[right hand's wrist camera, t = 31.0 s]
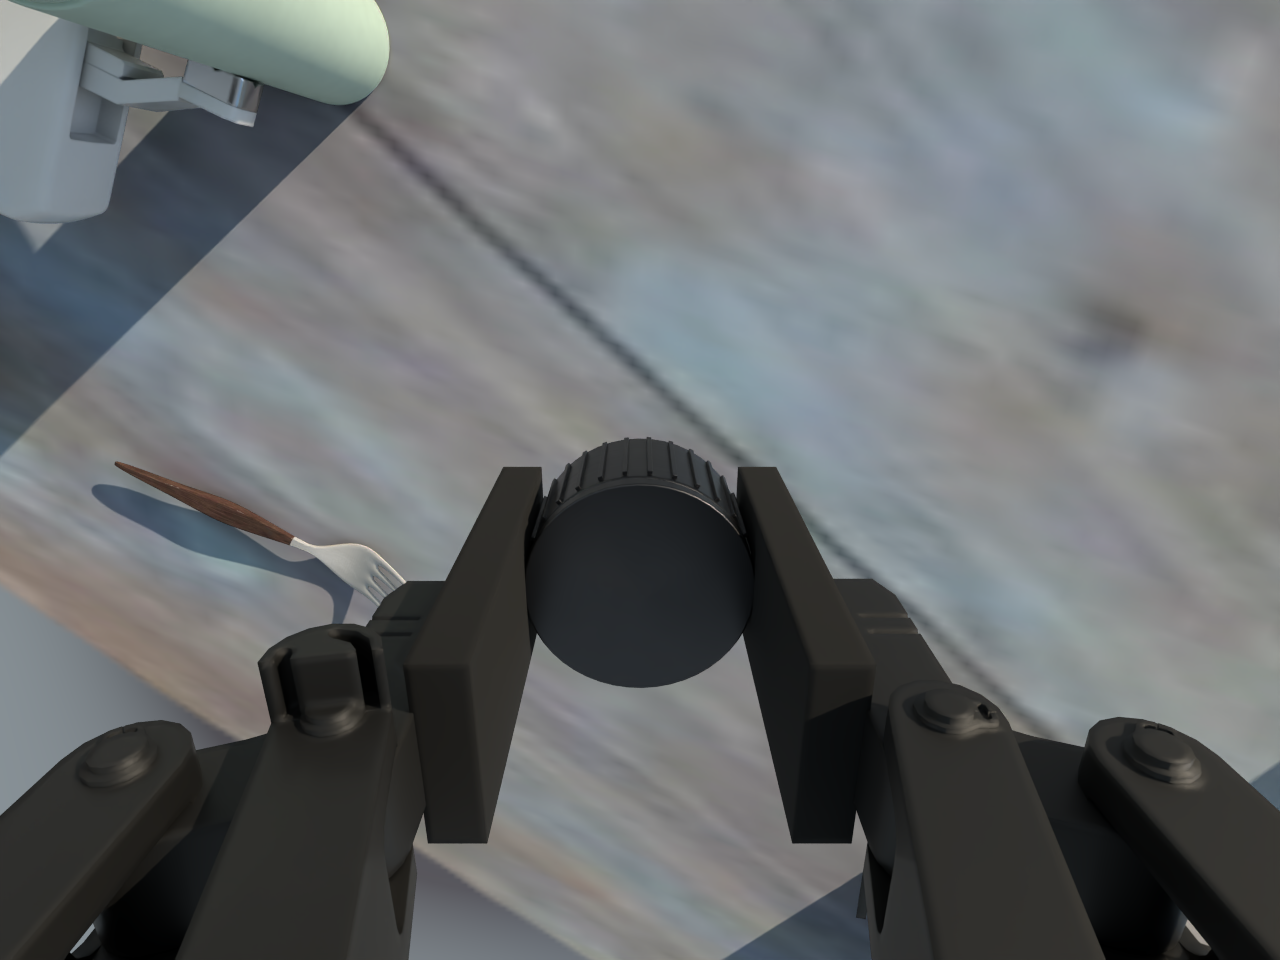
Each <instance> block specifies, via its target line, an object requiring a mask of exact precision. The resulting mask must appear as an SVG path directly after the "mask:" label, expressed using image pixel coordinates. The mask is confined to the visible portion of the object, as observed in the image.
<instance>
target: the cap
mask: <svg viewBox="0 0 1280 960" xmlns="http://www.w3.org/2000/svg"><path fill="white" fill-rule="evenodd" d="M746 537H748V534H747V531H746V528H745V525H744V522H743V519H742V515H741V512H740V509H739V506H738V503H737V500H736V497H735V494H734V493H730V491H729V489H728V486H727V483H726V480H725V477H724V476H723V475H722V476H721V477H720V475H719V474H718V473H717V472H716V471H715V470H714V469H713V468H712V465H711V463H710V462H709V461H707V462H705V461H704V460H703V459H702V458H700V457H699V456H697V455H696V454H694V452H693V450H691V449H689V450H687V449H684V448H682V447H680V446H678V445H674V444H673V442H672V441H669V442H665V441H659V440H653V439H651V437H647V439H629V438H624V440H621V441H616V442H611V443H608V444H607V442H605V443H603V445H602V446H600V447H597V448H595V449H593V450H591V451H589V452H587V451H585V452H583V454H582V456H581V457H580V458H578V459H577V460H575V461H574V462H573V463H572V464H571V465H570V464H569V463H568V464H567V465H566V467H565V470H564V472H563V473H562V474H561V475H560V476H559V477H558V479H557V480H556V479H554V480H553V481H552V484H551V488H550V491H549V494H548V497H546V496H544V498H543V501H542V504H541V507H540V510H539V513H538V517H537V520H536V523H535V526H534V529H533V532H532V535H531V538H530V541H533V543H532V547H531V550H530V553H529V556H528V560H527V563H526V566H525V587H526V602H527V611H528V614H529V617H530V620H531V622H532V624H533V626H534V628H535V630H536V632H537V634H538V635H539V637H540V638H541V640H542V641H543V643H544V644H545V645H546V646H547V647H548V648H549V650H550V651H551V652H552V653H553V654H554V655H555V656H556V657H558V658H559V659H560V660H561V661H562V662H563V663H565V664H566V665H568V666H569V667H571V668H572V669H574V670H575V671H577V672H579V673H581V674H583V675H585V676H587V677H589V678H592V679H594V680H597V681H600V682H603V683H607V684H611V685H616V686H623V687H634V688H646V687H658V686H663V685H669V684H673V683H676V682H680V681H683V680H686V679H688V678H690V677H693V676H695V675H697V674H699V673H701V672H702V671H704V670H706V669H708V668H709V667H711V666H712V665H713V664H715V663H716V662H717V661H719V660H720V659H721V658H722V657H723V656H724V655H725V654H726V653H727V652H728V651H730V649H731V648H732V647H733V646H734V644H735V643H736V642H737V641H738V639H739V638H740V636H741V635H742V633H743V631H744V630H745V628H746V626H747V623H748V621H749V619H750V616H751V613H752V609H753V595H754V579H755V570H754V564H753V560H752V557H751V551H750V548H749V545H748V541H747V538H746Z"/></svg>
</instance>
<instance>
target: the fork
mask: <svg viewBox="0 0 1280 960" xmlns="http://www.w3.org/2000/svg"><path fill="white" fill-rule="evenodd" d="M115 465H116V466H117V467H118V468H120V469H122V470H123V471H125V472H127V473H129V474H130V475H132V476H134V477H136V478H138V479H140V480H141V481H143V482H145V483H147V484H149V485H151V486H153V487H155V488H157V489H159V490H161V491H163V492H165V493H167V494H168V495H170V496H172V497H174V498H176V499H178V500H180V501H182V502H183V503H185V504H187V505H189V506H191V507H193V508H194V509H196V510H198V511H200V512H202V513H204V514H206V515H208V516H210V517H212V518H214V519H216V520H218V521H220V522H223V523H225V524H228V525H230V526H233V527H236V528H239V529H241V530H244V531H247V532H250V533H253V534H257V535H260V536H263V537H266V538H269V539H272V540H275V541H278V542H281V543H284V544H287V545H290V546H293V547H296V548H299V549H302V550H304V551H306V552H308V553H310V554H312V555H314V556H315V557H316V558H318V559H319V560H320V561H321V562H323V563H324V564H325V565H326V566H327V567H328V568H329V569H330V570H331V571H332V572H334V573H335V574H336V575H337V576H338V577H339V578H341V579H342V580H343V581H344V582H346V583H347V584H348V585H350V586H351V587H353V588H354V589H355V590H357V591H358V592H360V593H361V594H363V595H364V596H366V597H367V598H368V599H370V600H371V601H372V602H373V603H374V604H375V605H376V606H378V607H379V605H380V604H381V602H380V601H379V600H378V599H377V598H376V597H375V596H374V595H373V594H372V593H371V592H370V590H369V588H368V587H372V588H373V589H374V590H376V591H377V592H378V593H379V594H381V595H382V596H383V597H386V596H387V595H388V594H387V593H386V592H385V591H384V590H383V589H382V588H381V587H380V586H379V585H378V584H377V583H376V581H375V580H374V579H373V576H375V577H377V578H379V579H380V580H381V581H382V582H384V583H385V584H386V585H387V586H388V587H389V588H390V589H392V590H393V591H394V590H396V589H397V588H396V587H395V586H394V585H393V584H392V583H391V582H390V581H389V580H388V578H387V577H386V576H385V575H384V574H383V573H382V572H381V571H380V570H379V568H378V566H381V567H383V568H384V569H386V570H387V571H388V572H389V573H390V574H392V575H393V576H394V577H395V578H396V579H397V580H398V581H399V582H401V583H402V584H404V583H406V582H405V580H404V579H403V578H402V577H401V576H400V575H399V574H398V573H397V572H396V571H395V570H394V569H393V568H392V567H391V566H390V565H389V564H388V563H387V562H386V561H385V560H384V559H383V558H381V557H380V556H379V555H378V554H377V553H376V552H375V551H373V550H372V549H370V548H369V547H366V546H364V545H360V544H351V543H349V544H338V545H330V546H315V545H311V544H308V543H306V542H304V541H302V540H300V539H298V538H296V537H295V536H293V535H291V534H289V533H288V532H286V531H284V530H282V529H281V528H279V527H277V526H275V525H274V524H272V523H270V522H269V521H267V520H265V519H263V518H262V517H260V516H258V515H256V514H254V513H253V512H251V511H249V510H247V509H245V508H243V507H241V506H239V505H237V504H235V503H233V502H231V501H228V500H226V499H223V498H220V497H218V496H215V495H212V494H209V493H206V492H203V491H200V490H197V489H194V488H191V487H188V486H185V485H182V484H180V483H177V482H174V481H171V480H169V479H166V478H163V477H161V476H158V475H155V474H153V473H150V472H147V471H145V470H142V469H139V468H136V467H133V466H130V465H127V464H124V463H121V462H115Z"/></svg>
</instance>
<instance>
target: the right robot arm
mask: <svg viewBox="0 0 1280 960" xmlns="http://www.w3.org/2000/svg"><path fill="white" fill-rule="evenodd" d="M736 500H737V503H738V506H739V509H740V512H741V515H742V519H743V522H744V525H745V528H746V531H747V534H748V537H746V538H747V541H748V545H749V548H750V551H751V557H752V560H753V564H754V570H755V579H754V595H753V609H752V613H751V616H750V619H749V621H748V623H747V626H746V628H745V630H744V631H743V637H744V641H745V645H746V649H747V654H748V658H749V662H750V666H751V670H752V675H753V679H754V683H755V687H756V692H757V696H758V700H759V704H760V708H761V713H762V717H763V721H764V725H765V730H766V734H767V738H768V742H769V746H770V751H771V755H772V759H773V763H774V768H775V772H776V776H777V780H778V785H779V789H780V793H781V797H782V801H783V806H784V810H785V814H786V818H787V823H788V827H789V831H790V835H791V839H792V843H852V837H853V829H854V822H855V815H856V810H857V813H858V816H859V819H860V822H861V824H862V827H863V830H864V833H865V836H866V839H867V841H868V843H867V849H866V856H865V863H864V869H863V876H862V882H861V889H860V895H859V902H858V909H857V915H856V918H862V919H866V914H867V917H868V927H869V937H870V947H871V957H872V960H1280V811H1279V810H1278V809H1277V808H1275V807H1274V806H1273V805H1272V804H1271V803H1270V802H1269V801H1268V800H1267V799H1266V798H1264V797H1263V796H1262V795H1261V794H1260V793H1259V792H1258V791H1257V790H1256V789H1255V788H1253V787H1252V786H1251V785H1250V784H1249V783H1248V782H1247V781H1246V780H1245V779H1244V778H1242V777H1241V776H1240V775H1239V774H1238V773H1237V772H1236V771H1235V770H1234V769H1233V768H1231V767H1230V766H1229V765H1228V764H1227V763H1226V762H1225V761H1224V760H1223V759H1222V758H1220V757H1219V756H1218V755H1217V754H1215V753H1214V752H1212V751H1211V750H1210V749H1208V748H1207V747H1206V746H1204V745H1203V744H1201V743H1200V742H1199V741H1197V740H1195V739H1193V738H1191V737H1189V736H1187V735H1185V734H1183V733H1181V732H1179V731H1177V730H1175V729H1173V728H1171V727H1168V726H1165V725H1162V724H1159V723H1158V724H1157V723H1155V722H1151V721H1147V720H1144V719H1135V718H1124V717H1116V718H1111V719H1105V720H1100V721H1099V722H1098V723H1096V724H1095V725H1094V726H1093V727H1092V728H1091V729H1090V730H1089V733H1088V737H1087V740H1086V744H1085V747H1080V746H1075V745H1071V744H1066V743H1061V742H1057V741H1052V740H1047V739H1043V738H1038V737H1033V736H1030V735H1026V734H1023V733H1019V732H1016V731H1013V730H1012V729H1011V727H1010V724H1009V722H1008V721H1007V719H1006V718H1005V716H1004V715H1003V713H1002V712H1001V711H1000V709H999V708H998V707H997V706H996V705H994V704H993V703H992V702H990V701H989V700H988V699H986V698H985V697H984V696H982V695H981V694H978V693H976V692H974V691H972V690H969V689H967V688H965V687H963V686H960V685H957V684H952V682H951V681H950V679H949V677H948V676H947V674H946V673H945V671H944V670H943V668H942V667H941V665H940V664H939V662H938V660H937V659H936V657H935V656H934V654H933V653H932V651H931V650H930V648H929V646H928V645H927V643H926V642H925V640H924V639H923V637H922V636H921V634H918V629H917V628H916V626H915V625H914V623H913V622H912V620H911V619H910V618H908V616H907V615H908V614H907V612H906V611H905V609H904V608H903V606H902V605H901V603H900V602H899V600H898V598H897V597H896V595H894V594H893V593H892V592H890V591H889V590H887V589H886V588H884V587H883V586H882V585H880V584H879V583H877V582H876V581H874V580H873V579H833V578H832V576H831V574H830V572H829V570H828V568H827V566H826V564H825V562H824V560H823V558H822V556H821V554H820V552H819V550H818V548H817V546H816V544H815V542H814V540H813V539H812V537H811V535H810V533H809V531H808V529H807V527H806V525H805V523H804V521H803V519H802V517H801V515H800V513H799V511H798V509H797V507H796V505H795V503H794V501H793V499H792V497H791V495H790V493H789V491H788V489H787V487H786V486H785V484H784V482H783V480H782V478H781V476H780V474H779V472H778V470H777V468H776V467H738V478H737V497H736ZM542 501H543V487H542V468H541V467H503V469H502V471H501V473H500V475H499V477H498V479H497V481H496V483H495V485H494V487H493V488H492V490H491V492H490V494H489V496H488V498H487V500H486V502H485V504H484V506H483V508H482V510H481V512H480V514H479V516H478V518H477V520H476V522H475V524H474V526H473V528H472V530H471V532H470V534H469V536H468V538H467V540H466V541H465V543H464V545H463V547H462V549H461V551H460V553H459V555H458V557H457V559H456V561H455V563H454V565H453V567H452V569H451V571H450V573H449V575H448V577H447V579H446V581H407V582H406V583H404V584H403V585H401V586H400V587H399V588H397V589H396V590H394V591H393V592H392V593H390V594H389V595H387V596H386V597H384V599H383V601H382V602H381V604H380V605H379V607H378V608H377V610H376V612H375V613H374V615H373V616H372V620H370V621H369V622H368V624H367V626H366V627H364V626H360V625H356V624H329V625H324V626H319V627H314V628H309V629H306V630H304V631H301V632H299V633H296V634H294V635H291V636H288V637H286V638H285V639H283V640H282V641H280V642H279V643H277V644H276V645H274V646H272V647H271V648H269V649H268V650H267V652H266V653H265V654H264V655H263V656H262V658H261V659H260V660H259V661H258V667H259V671H260V676H261V680H262V684H263V689H264V693H265V697H266V702H267V706H268V711H269V715H270V719H271V725H270V728H269V730H268V733H267V734H264V735H261V736H257V737H254V738H250V739H246V740H242V741H237V742H233V743H228V744H223V745H219V746H215V747H209V748H205V749H200V750H196V749H195V746H194V743H193V739H192V735H191V733H190V732H189V731H188V730H187V729H186V728H185V727H184V726H182V725H181V724H179V723H174V722H169V721H164V720H158V721H148V722H138V723H134V724H130V725H126V726H124V727H119V728H116V729H113V730H110V731H108V732H106V733H104V734H102V735H100V736H98V737H96V738H94V739H92V740H90V741H88V742H86V743H84V744H82V745H81V746H80V747H78V748H77V749H75V750H74V751H73V752H71V753H70V754H69V755H67V756H66V757H64V758H63V759H62V760H60V761H59V762H58V763H57V764H56V765H55V766H54V767H53V768H52V769H51V770H50V771H48V772H47V773H46V774H45V775H44V776H43V777H42V778H41V779H40V780H39V781H38V782H37V783H35V784H34V785H33V786H32V787H31V788H30V789H29V790H28V791H27V792H26V793H25V794H23V795H22V796H21V797H20V798H19V799H18V800H17V801H16V802H15V803H14V804H12V805H11V806H10V807H9V808H8V809H7V810H6V811H5V812H4V813H3V814H2V815H0V960H408V958H409V948H410V938H411V928H412V919H413V908H414V899H415V888H416V879H417V869H416V863H415V856H414V849H413V841H414V838H415V835H416V832H417V830H418V827H419V824H420V821H421V818H422V815H423V812H424V819H425V826H426V833H427V840H428V843H487V842H488V837H489V833H490V829H491V825H492V821H493V816H494V812H495V808H496V804H497V799H498V795H499V791H500V787H501V783H502V778H503V774H504V770H505V766H506V761H507V757H508V753H509V749H510V745H511V740H512V736H513V732H514V728H515V723H516V719H517V715H518V711H519V707H520V702H521V698H522V694H523V690H524V685H525V681H526V677H527V673H528V669H529V664H530V660H531V656H532V652H533V647H534V643H535V639H536V635H537V632H536V630H535V628H534V626H533V624H532V622H531V620H530V617H529V614H528V611H527V602H526V587H525V566H526V563H527V560H528V556H529V553H530V550H531V547H532V543H533V541H530V538H531V535H532V532H533V529H534V526H535V523H536V520H537V517H538V513H539V510H540V507H541V504H542ZM92 923H93V924H94V927H95V929H94V930H93V931H92V932H91V934H90V935H89V936H88V937H87V939H86V940H85V941H84V942H83V943H82V944H81V945H80V946H79V947H78V948H77V949H76V950H75V951H74V952H73V953H72V954H71V953H70V951H71V950H72V948H73V947H74V946H75V945H76V943H77V942H78V941H79V940H80V938H81V937H82V936H83V935H84V933H85V932H86V931H87V930H88V928H89V927H90V926H91V925H92Z"/></svg>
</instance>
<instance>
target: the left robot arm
mask: <svg viewBox="0 0 1280 960" xmlns="http://www.w3.org/2000/svg"><path fill="white" fill-rule="evenodd" d="M141 49H142V44H139V43H136V42H133V41H130V40H126V39H123V38H120V37H117V36H114V35H111V34H108V33H105V32H102V31H98V30H95V29H92V28H89V27H86V26H83V25H80V24H77V23H74V22H70V21H67V20H64V19H61V18H58V17H55V16H52V15H49V14H46V13H42V12H39V11H36V10H33V9H30V8H27V7H24V6H21V5H18V4H16V3H13V2H11V1H8V0H0V214H1V215H3V216H5V217H8V218H11V219H14V220H17V221H22V222H30V223H45V224H56V223H69V222H75V221H79V220H83V219H87V218H90V217H93V216H96V215H99V214H102V213H103V212H105V211H106V210H107V208H108V206H109V202H110V198H111V194H112V188H113V183H114V179H115V174H116V169H117V164H118V159H119V154H120V150H121V145H122V140H123V135H124V131H125V126H126V121H127V116H128V111H129V107H134V108H139V109H144V110H150V111H155V112H162V111H173V110H184V109H195V108H202V109H204V110H206V111H208V112H211V113H213V114H215V115H217V116H219V117H221V118H223V119H225V120H228V121H231V122H233V123H236V124H240V125H245V126H250V127H253V126H254V122H255V118H256V114H257V111H258V107H259V103H260V99H261V95H262V91H263V88H264V85H263V84H261V83H259V82H257V81H254V80H251V79H248V78H245V77H242V76H239V75H236V74H233V73H229V72H226V71H223V70H220V69H217V68H214V67H210V66H207V65H204V64H201V63H198V62H195V61H192V60H189V59H188V62H187V65H186V69H185V73H184V77H167V78H163V77H164V75H163V73H162V71H161V70H159V69H157V68H155V67H153V66H151V65H149V64H147V63H145V62H143V61H141V60H139V59H140V54H141Z"/></svg>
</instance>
